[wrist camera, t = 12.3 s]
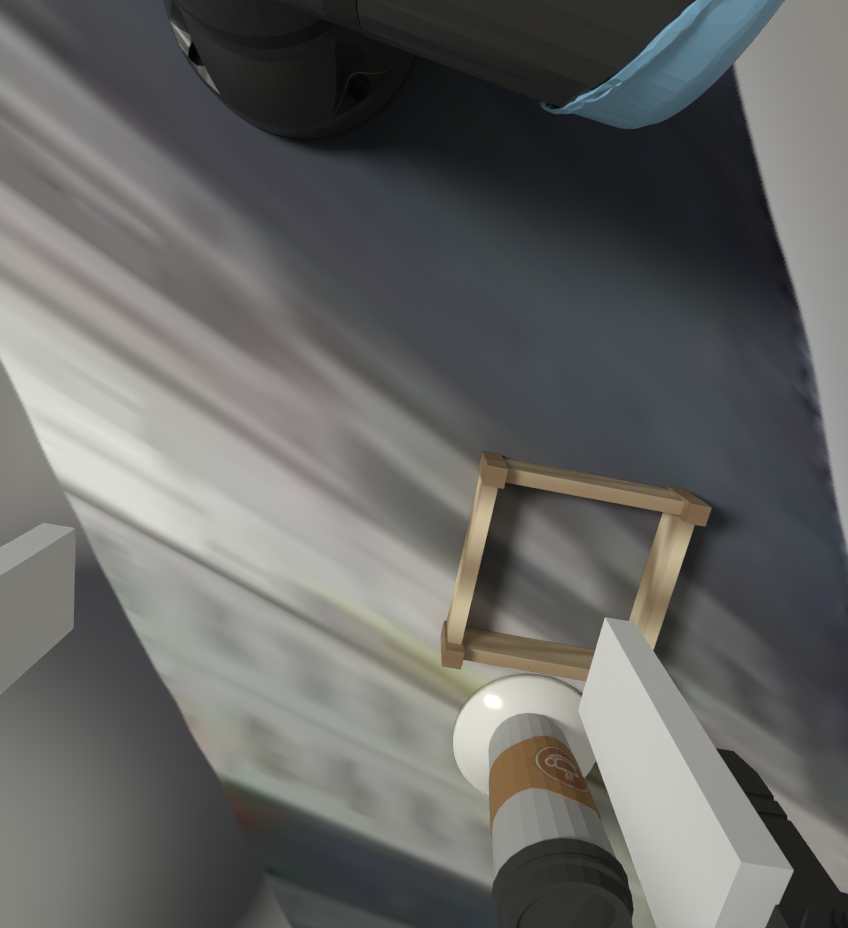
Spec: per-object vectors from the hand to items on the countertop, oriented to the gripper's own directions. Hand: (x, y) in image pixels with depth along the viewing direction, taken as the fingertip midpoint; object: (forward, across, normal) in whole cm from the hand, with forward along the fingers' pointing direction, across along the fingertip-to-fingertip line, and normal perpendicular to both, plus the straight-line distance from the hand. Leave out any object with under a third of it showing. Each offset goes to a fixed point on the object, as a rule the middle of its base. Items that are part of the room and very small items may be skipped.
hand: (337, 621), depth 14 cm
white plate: (+28, +15, -25) cm, 41 cm away
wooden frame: (+28, +14, -9) cm, 33 cm away
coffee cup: (+28, +15, -25) cm, 40 cm away
